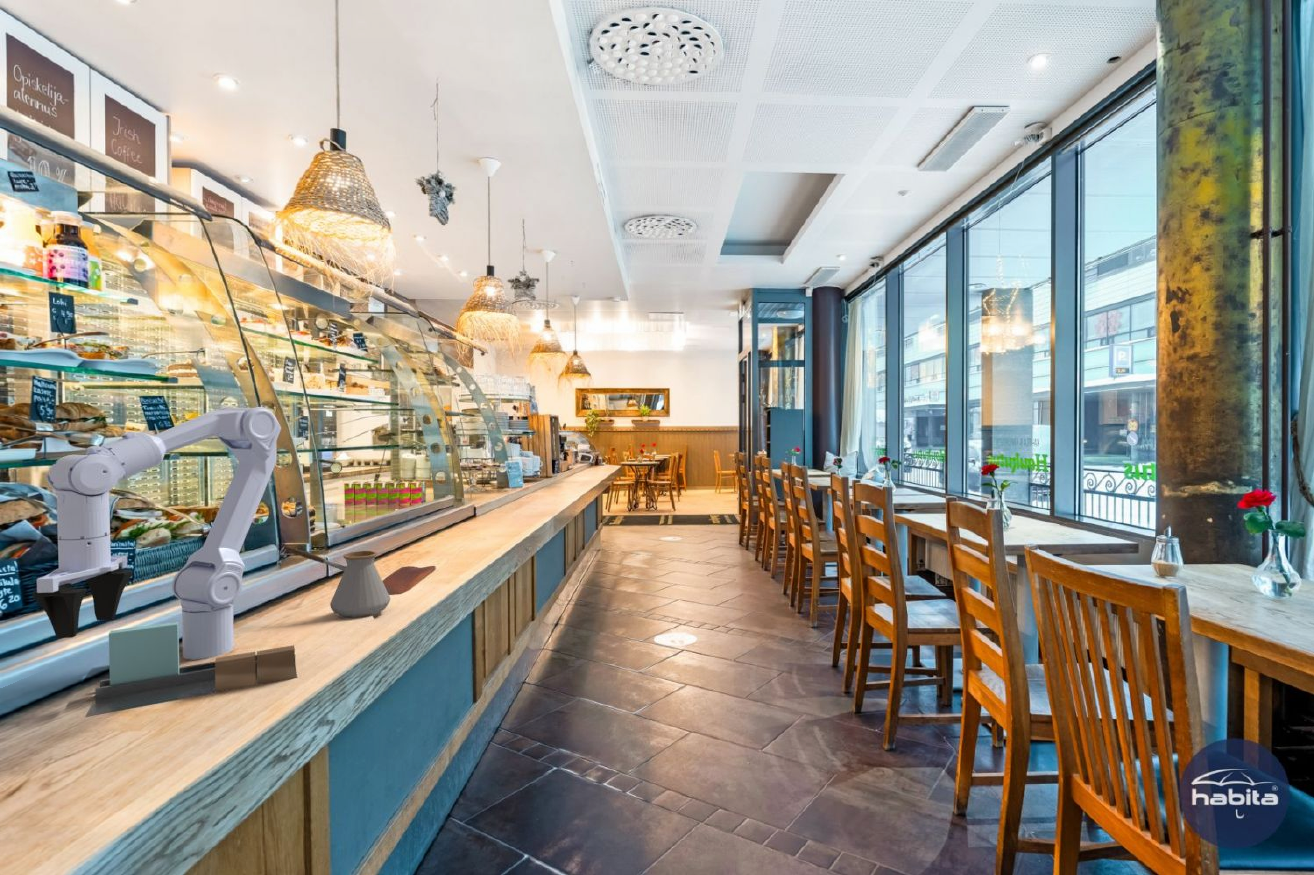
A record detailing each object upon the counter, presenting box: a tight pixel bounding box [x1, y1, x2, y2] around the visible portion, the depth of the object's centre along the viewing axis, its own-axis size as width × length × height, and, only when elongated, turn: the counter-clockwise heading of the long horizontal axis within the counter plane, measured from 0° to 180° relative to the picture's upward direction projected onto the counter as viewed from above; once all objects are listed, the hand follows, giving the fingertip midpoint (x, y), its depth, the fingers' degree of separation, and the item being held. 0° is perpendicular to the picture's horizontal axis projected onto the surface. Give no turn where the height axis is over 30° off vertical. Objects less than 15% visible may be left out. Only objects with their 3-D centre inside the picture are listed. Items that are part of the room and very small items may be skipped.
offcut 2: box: [256, 644, 296, 686], centre depth 99 cm, size 2×5×4 cm, turn 122°
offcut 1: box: [214, 651, 257, 693], centre depth 96 cm, size 2×5×4 cm, turn 122°
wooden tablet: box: [382, 565, 437, 596], centre depth 161 cm, size 27×10×2 cm, turn 2°
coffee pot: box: [279, 545, 391, 620], centre depth 133 cm, size 21×12×15 cm, turn 97°
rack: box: [85, 654, 298, 718], centre depth 97 cm, size 11×25×2 cm, turn 122°
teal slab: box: [108, 621, 180, 685], centre depth 95 cm, size 2×8×9 cm, turn 122°
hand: (86, 627), depth 94 cm, fingers open, 7 cm apart
